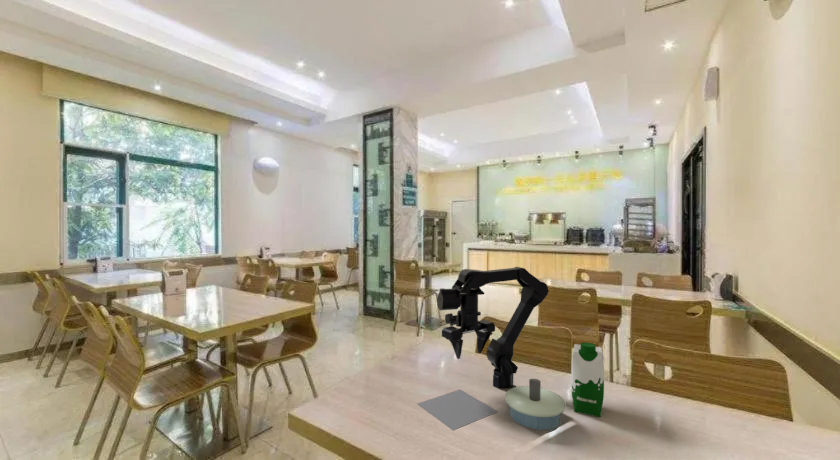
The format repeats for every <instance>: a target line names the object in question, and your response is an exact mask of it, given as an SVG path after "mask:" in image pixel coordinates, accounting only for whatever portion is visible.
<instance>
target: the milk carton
mask: <svg viewBox="0 0 840 460" xmlns="http://www.w3.org/2000/svg"><path fill="white" fill-rule="evenodd" d="M571 356H572V357H571V397H572V403H573V411H574V413H578V414H584V415H588V416H592V415H593V416H594V417H597V416H598V417H597V418H601V416H602V410H603V405H604V398H605V397H604V394H605V362H604V361H605V357H604V352H603V348H602V347H601V346H596V344H594V343H593V342H587V341H586V342H581V343H580V344H578V343H574V346H573V349H572V354H571ZM593 416H592V417H593Z"/></svg>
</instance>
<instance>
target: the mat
mask: <svg viewBox="0 0 840 460" xmlns="http://www.w3.org/2000/svg"><path fill="white" fill-rule="evenodd" d="M416 404H417V405H418V406H419V407H421V409H423V410H424V411H426V412H427V413H428V414H430V415H431V416H432V417H434V418H436V419H437V420H438V421H439V422H441V423H442V424H444V425H445V426H446V427H448V428H449V429H450V430H452V431H456V430H458V429H460V428H463V427H466V426H467V425H470V424H472V423H475V422H477V421H479V420H482V419H484V418H486V417H489V416H492V415H494V414H497V413H499V411H498V410H497V409H495V408H493V407H492V406H490V405H489V404H486V403H485V402H483V401H481V400H479V399H478V398H476V397H474V396H473V395H470V394H469V393H467V392H465V390H462V389H457V390H454V391H451V392H448V393H445V394H441V395H439V396H436V397H433V398H429V399H426V400H424V401H420V402H418V403H416Z"/></svg>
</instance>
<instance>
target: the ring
mask: <svg viewBox="0 0 840 460" xmlns="http://www.w3.org/2000/svg"><path fill="white" fill-rule="evenodd" d="M509 415H510V416H511V419H513V421H514V422H515V423H518V424H519V425H520V426H523V427H526V428H529V429H533V430H537V431H539V430H549V431H548V432H547V433H551V432H554V431H556V430H558V428H559V425H560V417H561V414H560V415H557V416H553V417H535V416H530V415H526V414H523V413H520V412H518V411H516V410H514V409H513V408H511V407H510V406H509ZM555 427H556V428H555Z"/></svg>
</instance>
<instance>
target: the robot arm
mask: <svg viewBox="0 0 840 460" xmlns="http://www.w3.org/2000/svg"><path fill="white" fill-rule="evenodd" d="M507 281H517V283H518V284H519V286H521V287H522V288H521V292H520V301H519V303H518V305H517V307H516V309H515V311H514V312H513V314H512V315H511V318H510V319H509V321H508V323H507V325H506V326H505V329H504V330H503V332H502V333H501V335H500V337H498V338H497V339H495V338H492V339H491V340H490V343H489V345H488V346H487V347H486V354H485V355H486V358H487V360H488V361H489V362H490V364H491V366H493V368H494V369H493V374H492V375H493V376H492V377H493V378H492V387H494V388H496V389H498V390H501V389H504V390H505V389H506V390H507V389H512V388H514V387H518V386H517V385H514V374H517V373H518V366H517V364H516V363H514V361H513V360H512V359H513V356H514V348H515V347H514V346H515V343H516V341H517V340H518V337H519V336H520V334H521V332H522V331H523V328H524V327H525V325H526V324H527V322H528V319H529V318H530V317H531V315H532V312H533V311H534V309H535V308H536V307H538V306H539V305H541V303H542V302H543V301H544V300H545V298H546V297H547V296H548V295H549V291H550V290H549V287H548V284H547V283H545V282H544V281H541V280H540V279H539V278H537V277H536V276H534V275H533V274H532V273H530V271H528V270H527V269H526V267H525V268H524V267H520V266H515V267H509V268H499V269H491V270H490V269H489V270H480V269H470V268H464V269H462V270H461V271H460V272H459V273H458V277H457V279H456V281H455V282H454V283H453V285H452V287H451V288H439V291H438V293H437V297H436V303H437V304H436V305H437V307H438V308H437V309H438V310H439V311H448V310H449V311H451V310H458V311H457V313H456V314H453V313H452V312H451V313H446V314H445V316H444V321H445V324H447V325H449V326H446V327H443V328H442V330H441V337H442V338H445V339H446V340H448V341H449V342H450V344H451V346H452V348H453V351H454V354H455V357H456V359H457V360H460V359H461V356H462V350H463V349H462V348H463V344H464V339H462V338H463V335H464V334H469V333H474V332H475V334H476V345H477V346H476V347H477V348H476V349H477V353H478V354H481V353H482V352H483V350H484V348H485V345H486V344H487V342H488V340H489V339H490V338H491V336H492V335H493V332H496V325H495V323H494V322H492V321H490V320H486V319H480V320H479V316H481V313H482V312H481V311H479V296H482V295H485V292H484V291H483V290H482V289H481V287H482V288H483V287H485V286H486V285H488V284H491V283H500V282H507ZM459 308H460V309H459ZM458 327H460V328H458Z"/></svg>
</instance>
